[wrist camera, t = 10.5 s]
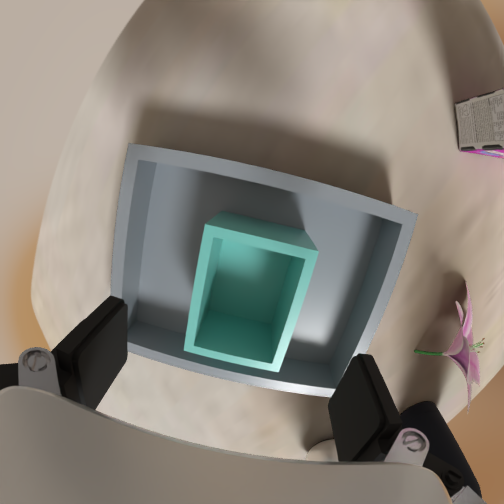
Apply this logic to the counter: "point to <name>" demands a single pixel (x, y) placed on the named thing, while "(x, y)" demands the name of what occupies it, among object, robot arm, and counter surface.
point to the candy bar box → (481, 124)
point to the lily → (464, 349)
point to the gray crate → (268, 209)
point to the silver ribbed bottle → (323, 452)
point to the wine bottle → (439, 439)
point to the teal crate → (248, 290)
